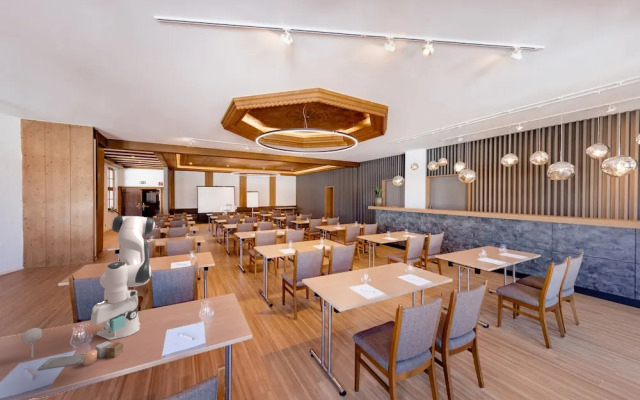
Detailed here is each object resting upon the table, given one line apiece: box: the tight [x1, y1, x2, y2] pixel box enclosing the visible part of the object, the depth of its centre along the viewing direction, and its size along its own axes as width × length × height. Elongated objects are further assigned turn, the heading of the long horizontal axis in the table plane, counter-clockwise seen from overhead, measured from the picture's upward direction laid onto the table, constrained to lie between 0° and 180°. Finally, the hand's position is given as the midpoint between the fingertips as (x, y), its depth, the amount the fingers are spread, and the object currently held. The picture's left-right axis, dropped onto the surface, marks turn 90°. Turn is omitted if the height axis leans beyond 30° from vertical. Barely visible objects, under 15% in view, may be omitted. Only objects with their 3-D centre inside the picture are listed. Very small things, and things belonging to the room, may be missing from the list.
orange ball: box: [82, 349, 98, 367], centre depth 125 cm, size 5×5×5 cm
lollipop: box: [21, 327, 44, 359], centre depth 128 cm, size 7×7×15 cm
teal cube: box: [107, 315, 125, 331], centre depth 121 cm, size 5×5×5 cm
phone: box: [37, 353, 84, 371], centre depth 125 cm, size 8×16×1 cm, turn 107°
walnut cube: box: [105, 341, 124, 358], centre depth 132 cm, size 5×5×5 cm
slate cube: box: [95, 340, 112, 358], centre depth 132 cm, size 5×5×5 cm
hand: (115, 324), depth 121 cm, fingers closed on teal cube, 5 cm apart
